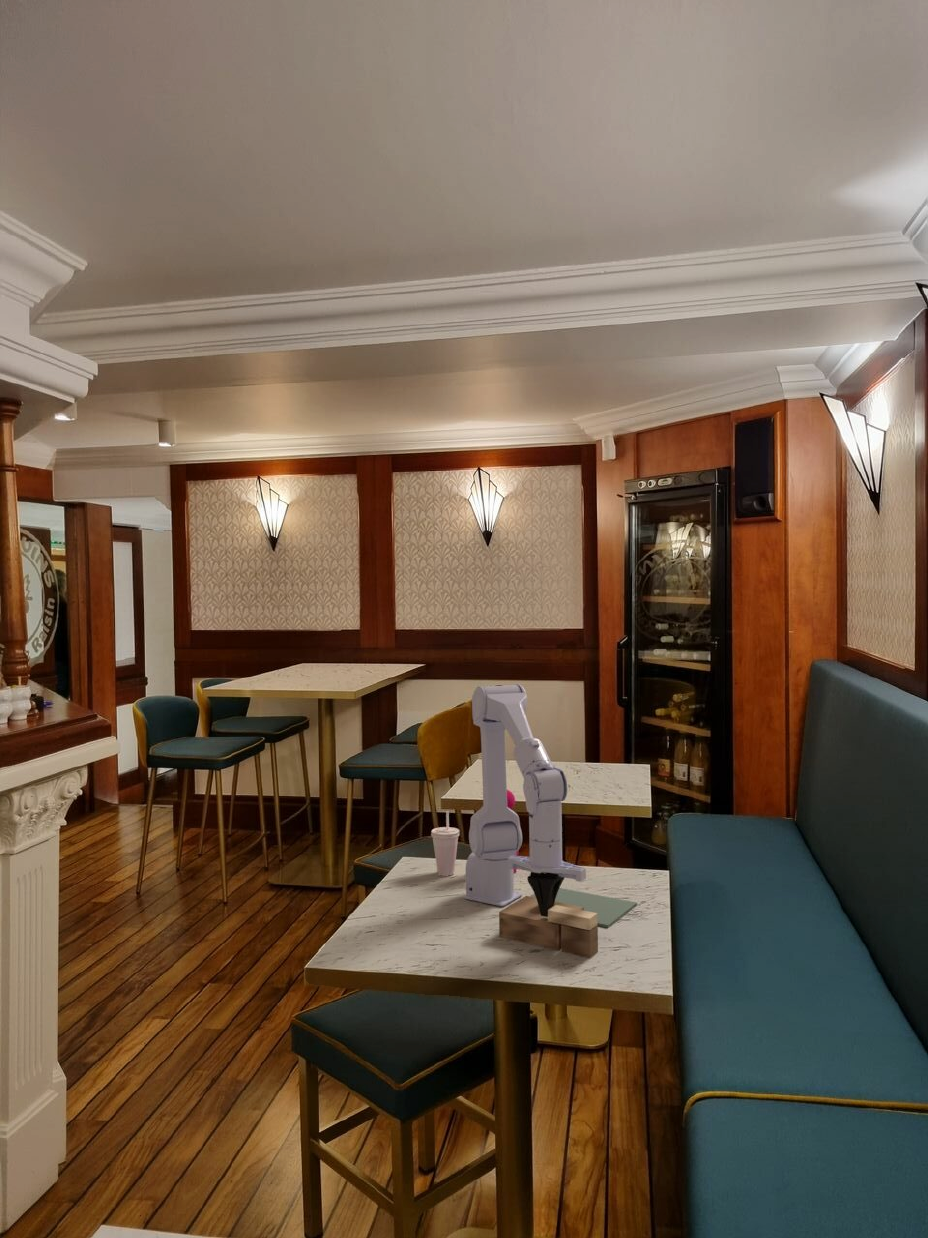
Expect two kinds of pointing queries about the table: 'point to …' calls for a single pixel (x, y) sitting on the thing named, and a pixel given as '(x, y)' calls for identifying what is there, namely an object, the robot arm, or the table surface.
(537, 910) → the lid
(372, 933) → the table surface
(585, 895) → the mat
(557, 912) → the block
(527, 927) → the open wooden box
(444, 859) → the smoothie
